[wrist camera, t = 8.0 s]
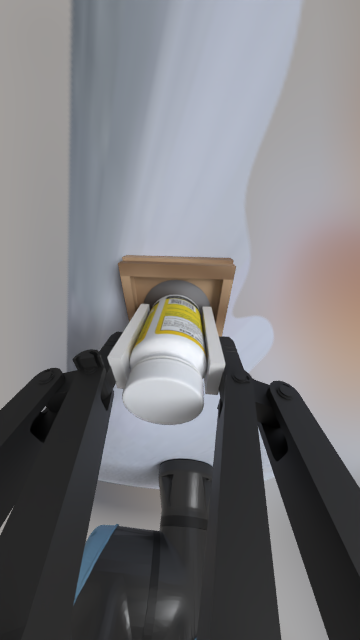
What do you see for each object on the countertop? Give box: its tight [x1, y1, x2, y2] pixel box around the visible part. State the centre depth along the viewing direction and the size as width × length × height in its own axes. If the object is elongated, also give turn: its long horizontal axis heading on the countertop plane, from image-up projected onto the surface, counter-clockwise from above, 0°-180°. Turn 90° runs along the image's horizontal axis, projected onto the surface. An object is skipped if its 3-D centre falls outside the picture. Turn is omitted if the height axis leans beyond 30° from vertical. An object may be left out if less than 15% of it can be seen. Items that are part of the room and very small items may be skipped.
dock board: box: [118, 255, 236, 337], centre depth 15 cm, size 10×9×2 cm
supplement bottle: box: [122, 295, 207, 425], centre depth 11 cm, size 5×5×8 cm
